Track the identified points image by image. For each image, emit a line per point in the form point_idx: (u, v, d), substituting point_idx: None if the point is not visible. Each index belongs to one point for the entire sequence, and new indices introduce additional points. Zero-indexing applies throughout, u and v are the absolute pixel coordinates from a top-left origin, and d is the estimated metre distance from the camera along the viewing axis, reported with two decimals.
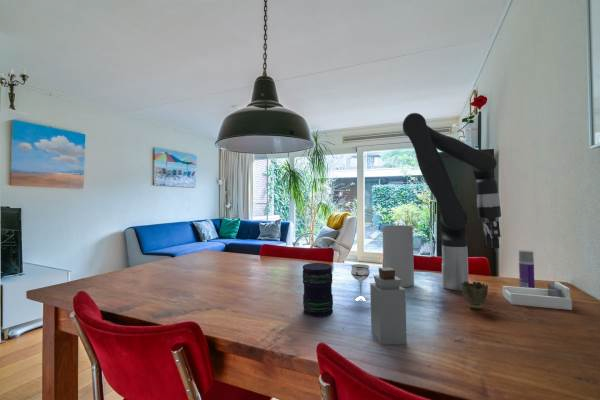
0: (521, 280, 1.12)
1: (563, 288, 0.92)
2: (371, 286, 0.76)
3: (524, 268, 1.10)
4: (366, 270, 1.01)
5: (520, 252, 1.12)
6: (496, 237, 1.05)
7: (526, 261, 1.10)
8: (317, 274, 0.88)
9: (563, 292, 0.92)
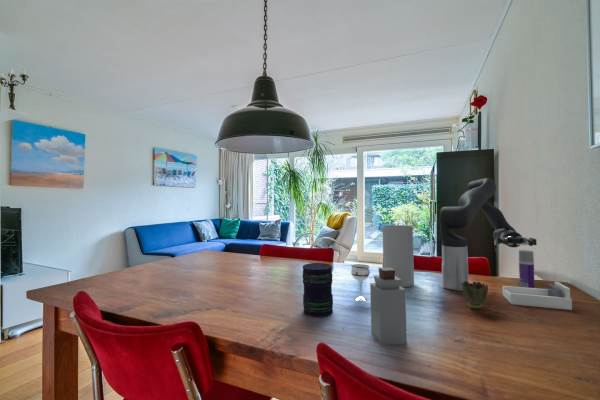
0: (521, 280, 1.12)
1: (563, 288, 0.92)
2: (371, 286, 0.76)
3: (524, 268, 1.10)
4: (366, 270, 1.01)
5: (520, 252, 1.12)
6: (534, 242, 1.23)
7: (526, 261, 1.10)
8: (317, 274, 0.88)
9: (563, 292, 0.92)
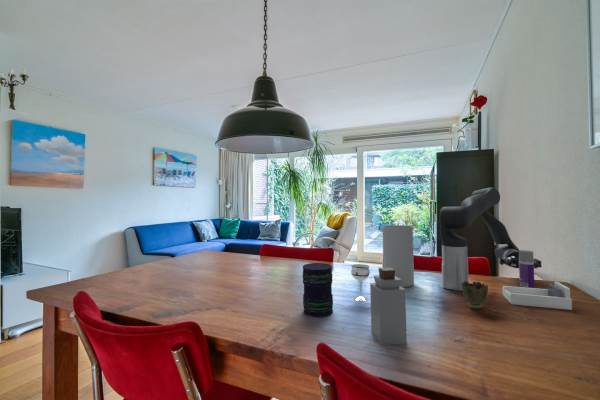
0: (521, 280, 1.12)
1: (563, 288, 0.92)
2: (371, 286, 0.76)
3: (524, 268, 1.10)
4: (366, 270, 1.01)
5: (520, 252, 1.12)
6: (539, 264, 1.17)
7: (526, 261, 1.10)
8: (317, 274, 0.88)
9: (563, 292, 0.92)
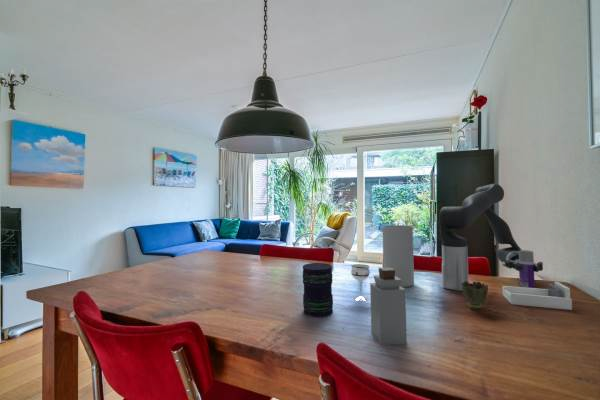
0: (521, 280, 1.12)
1: (563, 288, 0.92)
2: (371, 286, 0.76)
3: (525, 268, 1.10)
4: (366, 270, 1.01)
5: (520, 252, 1.12)
6: (540, 267, 1.11)
7: (526, 261, 1.10)
8: (317, 274, 0.88)
9: (563, 292, 0.92)
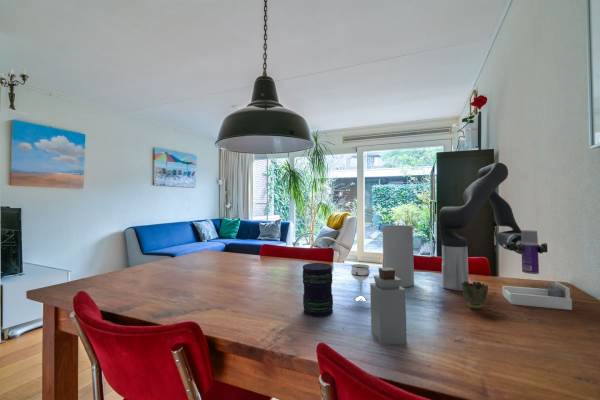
0: (524, 263, 1.01)
1: (563, 288, 0.92)
2: (371, 286, 0.76)
3: (528, 249, 0.99)
4: (366, 270, 1.01)
5: (523, 232, 1.01)
6: (544, 249, 1.00)
7: (529, 241, 0.99)
8: (317, 274, 0.88)
9: (563, 292, 0.92)
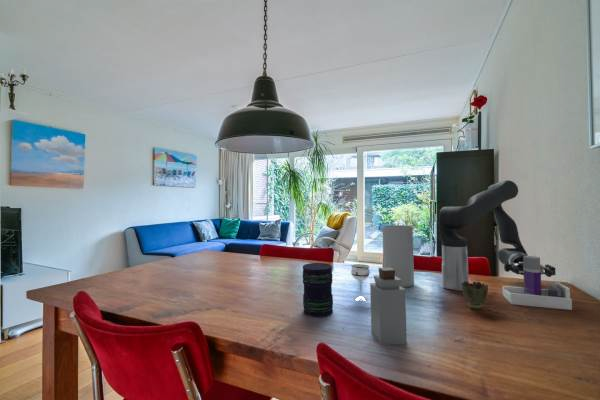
0: (526, 290, 0.97)
1: (563, 288, 0.92)
2: (371, 286, 0.76)
3: (530, 277, 0.96)
4: (366, 270, 1.01)
5: (525, 258, 0.98)
6: (552, 271, 0.97)
7: (531, 268, 0.96)
8: (317, 274, 0.88)
9: (563, 292, 0.92)
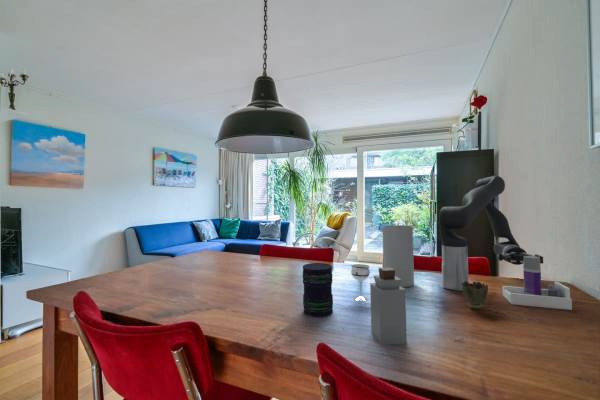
0: (526, 290, 0.97)
1: (563, 288, 0.92)
2: (371, 286, 0.76)
3: (530, 276, 0.96)
4: (366, 270, 1.01)
5: (525, 258, 0.98)
6: (540, 260, 1.08)
7: (531, 268, 0.96)
8: (317, 274, 0.88)
9: (563, 292, 0.92)
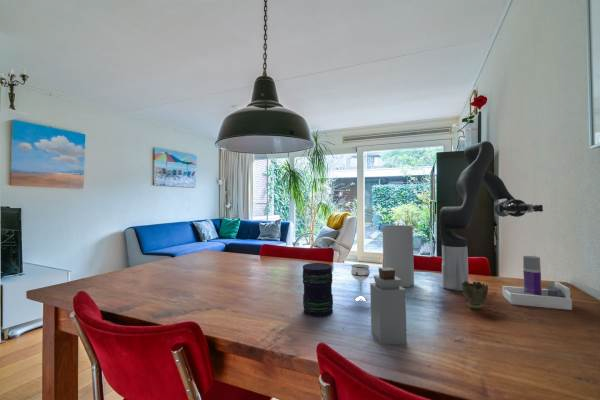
0: (526, 290, 0.97)
1: (563, 288, 0.92)
2: (371, 286, 0.76)
3: (530, 277, 0.96)
4: (366, 270, 1.01)
5: (525, 258, 0.98)
6: (540, 208, 1.11)
7: (531, 268, 0.96)
8: (317, 274, 0.88)
9: (563, 292, 0.92)
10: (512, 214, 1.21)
